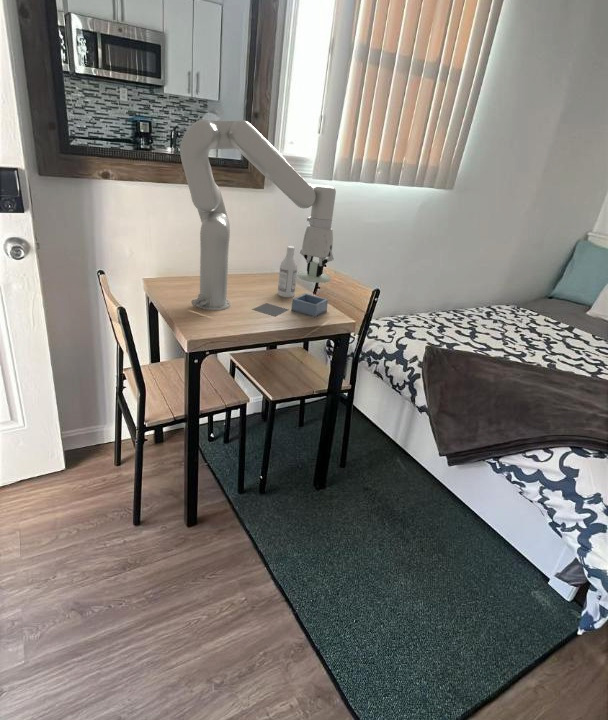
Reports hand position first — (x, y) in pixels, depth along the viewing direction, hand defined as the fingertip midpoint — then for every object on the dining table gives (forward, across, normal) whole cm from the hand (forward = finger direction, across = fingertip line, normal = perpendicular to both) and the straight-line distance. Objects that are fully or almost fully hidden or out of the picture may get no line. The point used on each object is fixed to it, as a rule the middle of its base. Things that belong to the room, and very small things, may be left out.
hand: (314, 274), depth 165 cm
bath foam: (+15, -16, +10) cm, 24 cm away
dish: (+14, 0, 0) cm, 15 cm away
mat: (+14, -11, -10) cm, 21 cm away
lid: (+1, 0, 0) cm, 1 cm away
